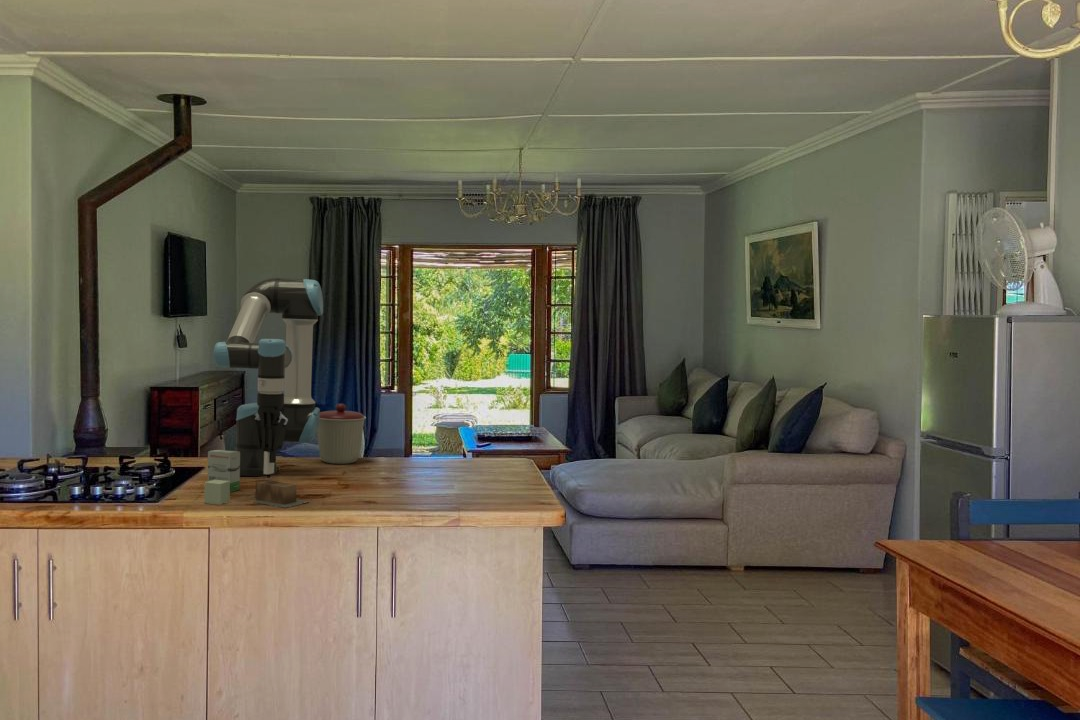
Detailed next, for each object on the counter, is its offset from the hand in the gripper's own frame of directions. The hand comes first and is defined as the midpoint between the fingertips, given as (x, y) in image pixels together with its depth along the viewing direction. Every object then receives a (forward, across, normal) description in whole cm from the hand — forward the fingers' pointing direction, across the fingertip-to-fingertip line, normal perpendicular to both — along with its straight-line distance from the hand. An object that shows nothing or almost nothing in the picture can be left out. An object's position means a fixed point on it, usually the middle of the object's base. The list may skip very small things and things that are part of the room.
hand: (268, 473), depth 298 cm
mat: (+8, +5, 0) cm, 9 cm away
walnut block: (+5, -3, 0) cm, 6 cm away
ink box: (+8, -21, +3) cm, 23 cm away
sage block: (+8, -9, -11) cm, 16 cm away
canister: (+8, -28, +65) cm, 71 cm away
